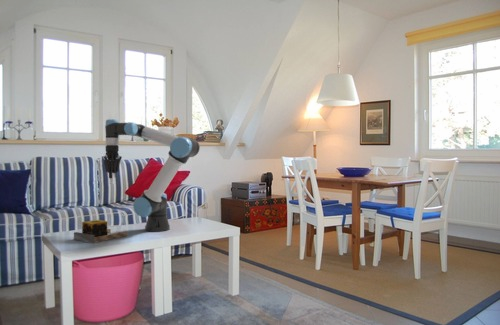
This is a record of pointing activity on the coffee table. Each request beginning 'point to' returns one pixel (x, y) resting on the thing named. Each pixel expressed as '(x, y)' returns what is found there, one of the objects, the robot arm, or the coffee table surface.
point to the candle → (95, 228)
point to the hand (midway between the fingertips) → (112, 183)
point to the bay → (93, 239)
